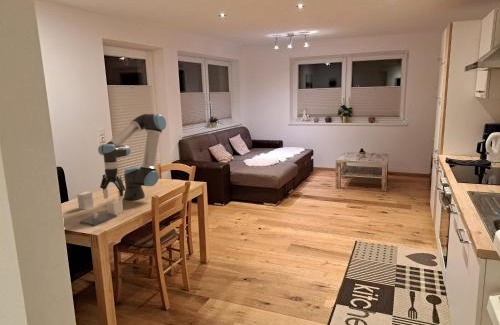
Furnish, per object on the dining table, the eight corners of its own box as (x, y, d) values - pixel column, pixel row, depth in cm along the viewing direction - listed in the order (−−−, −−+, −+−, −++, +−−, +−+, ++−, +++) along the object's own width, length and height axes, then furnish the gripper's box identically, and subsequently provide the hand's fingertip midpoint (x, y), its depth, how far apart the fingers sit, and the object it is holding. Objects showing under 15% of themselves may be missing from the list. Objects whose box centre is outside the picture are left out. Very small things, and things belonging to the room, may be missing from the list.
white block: (115, 210, 240) (114, 198, 238) (123, 211, 237) (122, 199, 235) (107, 213, 234) (106, 201, 232) (115, 215, 231) (113, 202, 229)
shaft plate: (103, 214, 233) (103, 206, 232) (117, 216, 228) (116, 208, 227) (80, 223, 218) (79, 214, 216) (94, 226, 212) (93, 217, 211)
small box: (87, 205, 252) (86, 191, 250) (93, 206, 250) (92, 191, 248) (78, 208, 245) (76, 194, 243) (84, 209, 243) (83, 194, 241)
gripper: (92, 167, 232) (95, 198, 235) (120, 170, 221) (123, 203, 225) (102, 165, 238) (104, 196, 242) (129, 168, 227) (131, 200, 231)
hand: (113, 199), depth 233 cm, fingers open, 13 cm apart
